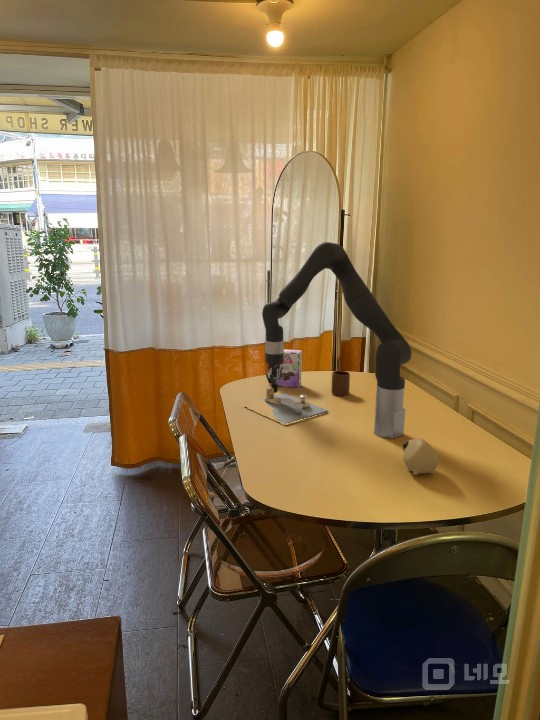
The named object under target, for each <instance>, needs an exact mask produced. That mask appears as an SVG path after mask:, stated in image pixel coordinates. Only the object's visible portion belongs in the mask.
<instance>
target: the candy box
mask: <svg viewBox="0 0 540 720" xmlns="http://www.w3.org/2000/svg"><path fill="white" fill-rule="evenodd" d="M302 362H303V350H300V349H299V350H297V349H286V348H284V362H283V363H282V364H280V367H283V369H282V373H281V377H280V380H279V382H278V387H281V386H282V387H283V388H293V389H299V388H300V387H301V386H302V369H303V368H302V366H303V365H302ZM269 386H271V384H270V383H269Z"/></svg>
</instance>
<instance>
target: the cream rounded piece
mask: <svg viewBox="0 0 540 720" xmlns="http://www.w3.org/2000/svg"><path fill="white" fill-rule="evenodd" d="M402 451H403V456H402V457H403V463H404V464H405V466H406V468H407V471H408V472H412V473H413V475H416V476H417V475H419V474H428V473H430V474H432V475H435V474H436V473H437V470H436V469H437V467H438V466H439V464H440V456H439V454H438V452H437V451H436V450H435V449H434V447H433V446H432V445H431V444H430V443H429V442H428V441H427V440H425V439H423V438H421V437H418V438H414V439H413V438H412V439H408V441H404V442H403V443H402Z"/></svg>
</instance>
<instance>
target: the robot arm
mask: <svg viewBox="0 0 540 720" xmlns="http://www.w3.org/2000/svg"><path fill="white" fill-rule="evenodd" d="M325 269H327V270H330V271H332V273H333V275H334V276H335V277H336V279H337V280H338V281H339V284H340V286H341V289H342V294H343V298H344V302H345V304H346V305H347V307H348V309H349V310H350V312H351V313H352V315H353V316H354V317H355V319H356V320H358V321H359V322H360V323H361V324H362V325H363V326H365V327H366V328H368V329H369V330H370V331H371V332H373V334H375V336H377V338H378V339H379V341H380V342H381V343H379V345H378V346H377V347H376V351H375V359H374V361H375V366H374V368H375V369H374V372H375V378H376V379H375V380H376V393H375V394H376V395H375V409H374V411H375V413H374V428H373V432H374V434H375V435H376V436H379V437H382V438H387V439H389V438H390V439H392V440H393V439H396V438H399V437H401V436H403V435H404V431H405V418H406V409H405V408H404V401H405V399H404V397H405V387H406V386H405V385H406V380H405V378H404V377H402V376H401V366H403V365H405V364H407V363H408V362H409V361H410V360H411V358H412V349H411V346H410V344H409V342H408V341H407V339H405V338H404V336H403V335H402V334H401V333H400V331H398V329H397V328H396V326H394V324H393V323H392V321H391V320H390V319H389V317H388V316H387V314H386V313H385V310H383V308H382V307H381V306H380V304H379V302H378V300H377V299H376V298H375V296H374V294H373V293H372V292H371V290H370V288H368V286H367V285H366V283H365V282H364V280H363V279H362V278H361V276H360V275H359V273H358V272H357V271H356V268H355V267H354V265H353V263H352V262H351V259H350V258H349V255H348V254H347V251H346V250H345V248H344V247H343V246H342V245H340V244H339V243H335V242H329V241H328V242H327V241H324V242H320V243H319V244H318V245H317V246H316V247H315V248H314V250H312V252H311V254H310V256H309V257H308V259H307V260H306V261H305V263H304V264H303V265H302V267H301V268H300V270H299V271H298V272H297V273H296V275H295V276H294V277H293V278H292V279H291V280H290V281H289V282H288V284H286V285H285V287H284V288H282V290H281V291H279V294H278V298H277V299H276V300H274V301H271V302H267V303H266V304H264V306H263V307H262V311H261V315H262V320H263V325H264V328H265V345H264V357H265V359H264V360H265V361H264V362H265V364H268V373H266V374H265V377H266V379H267V382H268V384H269V385H270V384H271V385H270V386H271V388H274V394H276V393H278V389H279V388H278V387H279V386H278V382H279V380H280V377H281V373H282V369H283V367H280V364H282V363H283V362H284V349H285V347H284V344H285V343H284V328H283V326H281V325H280V324H279V319H282V318H283V317H284V316H286V315H287V314H288V313H289V312H290V310H291V309H292V307H293V305H294V304H296V302H298V301H299V299H301V298H302V297H303V295H305V293H306V292H307V290H308V289H309V286H310V284H311V282H312V281H313V280H314V278H315V277H316V276H317V275H318V274H320V273H321V272H323V270H325Z"/></svg>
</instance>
